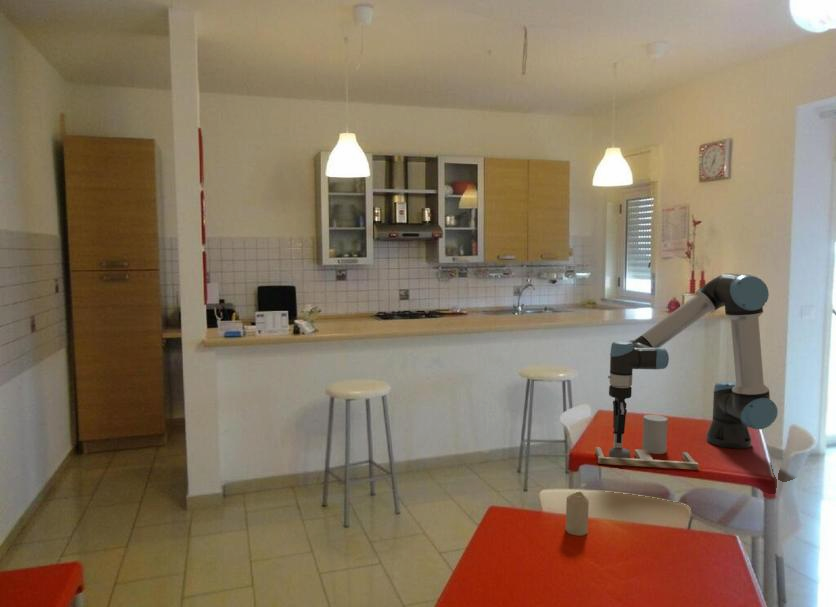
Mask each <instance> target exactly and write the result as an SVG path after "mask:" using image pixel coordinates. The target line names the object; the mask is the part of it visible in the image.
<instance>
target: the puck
mask: <svg viewBox="0 0 836 607" xmlns="http://www.w3.org/2000/svg"><path fill="white" fill-rule="evenodd" d="M608 452H609V454H608V457H616V458H631V452H632V451H630V449H628V448H623V447H622V448H614V447H611V448H610V449H609V450H608Z"/></svg>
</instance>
